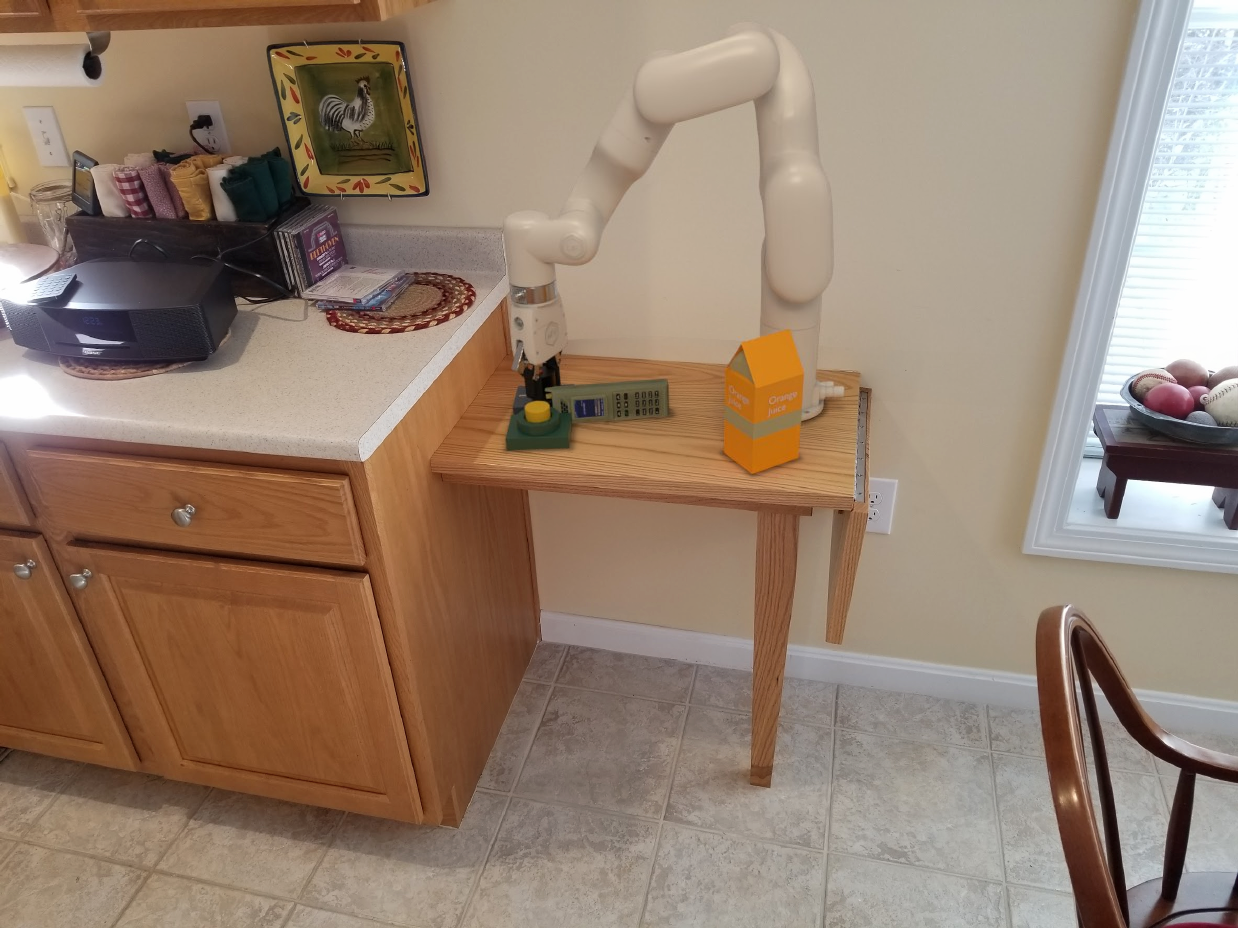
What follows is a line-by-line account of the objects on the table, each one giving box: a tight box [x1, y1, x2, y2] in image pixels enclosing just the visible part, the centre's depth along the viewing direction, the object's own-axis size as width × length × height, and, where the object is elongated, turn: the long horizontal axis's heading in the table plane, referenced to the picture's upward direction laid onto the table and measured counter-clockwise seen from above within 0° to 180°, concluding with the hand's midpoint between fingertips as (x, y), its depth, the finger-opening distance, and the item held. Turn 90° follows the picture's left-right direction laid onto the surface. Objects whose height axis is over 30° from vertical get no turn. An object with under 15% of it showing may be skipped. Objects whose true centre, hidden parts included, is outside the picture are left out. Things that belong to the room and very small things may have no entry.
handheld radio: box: [545, 378, 670, 424], centre depth 152 cm, size 7×3×25 cm
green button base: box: [505, 407, 573, 451], centre depth 147 cm, size 10×8×4 cm
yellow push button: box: [525, 401, 551, 423], centre depth 146 cm, size 4×4×2 cm
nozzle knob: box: [530, 365, 556, 401], centre depth 154 cm, size 4×4×5 cm
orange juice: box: [723, 329, 804, 475], centre depth 135 cm, size 8×9×20 cm
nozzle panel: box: [512, 383, 575, 415], centre depth 156 cm, size 10×9×3 cm
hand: (543, 391), depth 155 cm, fingers closed on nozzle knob, 4 cm apart
